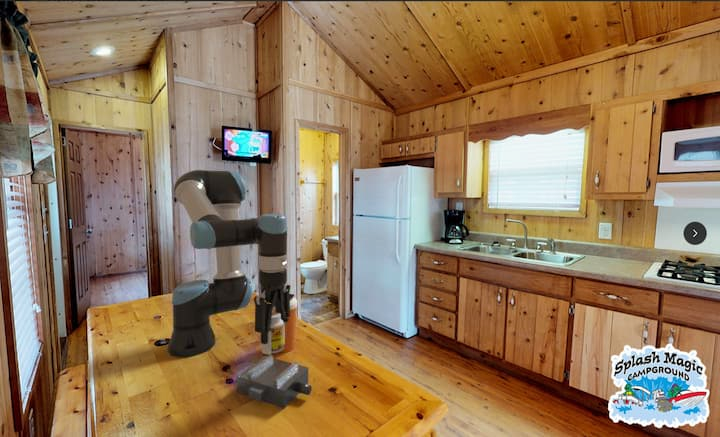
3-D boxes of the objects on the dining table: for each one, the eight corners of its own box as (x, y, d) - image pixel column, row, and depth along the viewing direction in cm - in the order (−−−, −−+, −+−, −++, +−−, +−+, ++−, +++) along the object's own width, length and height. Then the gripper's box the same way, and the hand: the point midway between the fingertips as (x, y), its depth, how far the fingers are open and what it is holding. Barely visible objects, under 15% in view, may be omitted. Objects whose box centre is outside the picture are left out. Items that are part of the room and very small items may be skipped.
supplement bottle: (262, 355, 87) (262, 319, 87) (264, 345, 93) (264, 311, 92) (283, 353, 89) (283, 317, 88) (283, 343, 94) (283, 310, 93)
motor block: (231, 397, 88) (231, 375, 87) (264, 370, 100) (264, 351, 100) (292, 418, 80) (292, 393, 80) (320, 386, 93) (320, 365, 92)
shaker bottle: (291, 355, 110) (291, 299, 108) (267, 352, 112) (267, 297, 110) (301, 343, 119) (301, 291, 117) (279, 340, 121) (278, 289, 119)
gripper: (262, 279, 79) (263, 367, 81) (302, 263, 96) (302, 337, 98) (238, 275, 82) (240, 361, 84) (281, 261, 99) (282, 332, 101)
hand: (273, 348), depth 91 cm, fingers closed on supplement bottle, 6 cm apart
